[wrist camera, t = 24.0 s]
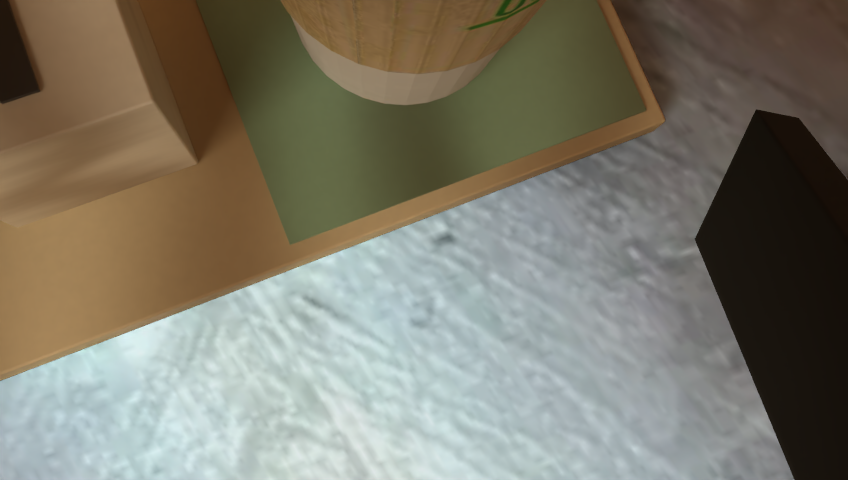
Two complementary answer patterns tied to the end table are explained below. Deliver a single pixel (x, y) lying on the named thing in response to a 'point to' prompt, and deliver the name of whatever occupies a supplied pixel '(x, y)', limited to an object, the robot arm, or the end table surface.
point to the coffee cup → (406, 42)
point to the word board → (251, 151)
